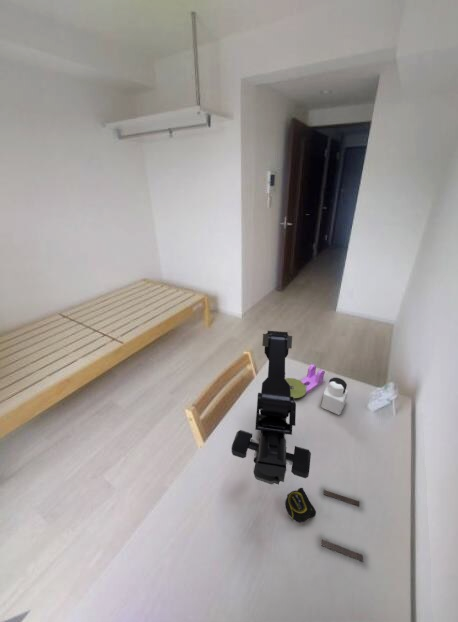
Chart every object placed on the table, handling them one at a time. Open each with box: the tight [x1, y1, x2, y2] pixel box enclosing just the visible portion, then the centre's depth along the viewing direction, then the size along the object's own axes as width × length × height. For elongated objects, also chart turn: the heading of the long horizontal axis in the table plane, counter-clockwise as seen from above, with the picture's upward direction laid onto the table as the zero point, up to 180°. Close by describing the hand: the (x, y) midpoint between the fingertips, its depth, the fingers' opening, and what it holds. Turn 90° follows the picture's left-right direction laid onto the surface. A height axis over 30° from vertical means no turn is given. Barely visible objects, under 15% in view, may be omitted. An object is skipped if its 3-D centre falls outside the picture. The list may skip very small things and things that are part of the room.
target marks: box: [321, 489, 364, 562], centre depth 69 cm, size 9×13×1 cm
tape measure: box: [284, 487, 317, 523], centre depth 71 cm, size 7×7×4 cm
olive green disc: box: [285, 377, 307, 399], centre depth 110 cm, size 11×11×2 cm
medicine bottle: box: [320, 377, 349, 416], centre depth 101 cm, size 7×7×12 cm
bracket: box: [300, 363, 326, 395], centre depth 111 cm, size 13×6×7 cm, turn 128°
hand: (268, 472), depth 70 cm, fingers closed
